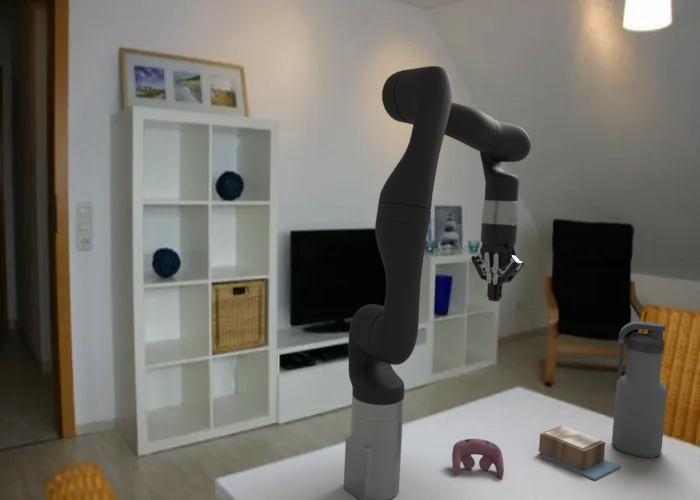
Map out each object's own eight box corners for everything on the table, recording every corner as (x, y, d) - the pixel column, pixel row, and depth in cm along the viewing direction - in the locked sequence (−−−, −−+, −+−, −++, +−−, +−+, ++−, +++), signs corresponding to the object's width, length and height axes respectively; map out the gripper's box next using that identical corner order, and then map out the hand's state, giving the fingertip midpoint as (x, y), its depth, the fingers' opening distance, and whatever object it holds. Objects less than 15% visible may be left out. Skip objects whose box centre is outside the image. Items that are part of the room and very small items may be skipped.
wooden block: (538, 451, 121) (582, 470, 113) (540, 432, 120) (584, 450, 112) (560, 443, 125) (603, 460, 118) (561, 424, 125) (605, 440, 117)
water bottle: (608, 450, 124) (619, 324, 121) (610, 435, 132) (621, 316, 130) (661, 462, 119) (674, 331, 116) (660, 445, 127) (672, 322, 125)
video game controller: (501, 478, 112) (500, 441, 115) (505, 478, 108) (504, 439, 111) (450, 474, 113) (450, 437, 116) (453, 474, 109) (453, 435, 111)
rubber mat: (594, 480, 110) (594, 478, 110) (540, 456, 119) (540, 454, 119) (620, 467, 116) (621, 465, 116) (567, 445, 125) (567, 444, 125)
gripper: (464, 220, 127) (459, 297, 128) (514, 223, 116) (508, 307, 118) (486, 220, 131) (481, 294, 133) (536, 224, 121) (530, 304, 122)
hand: (494, 300), depth 125 cm, fingers closed
